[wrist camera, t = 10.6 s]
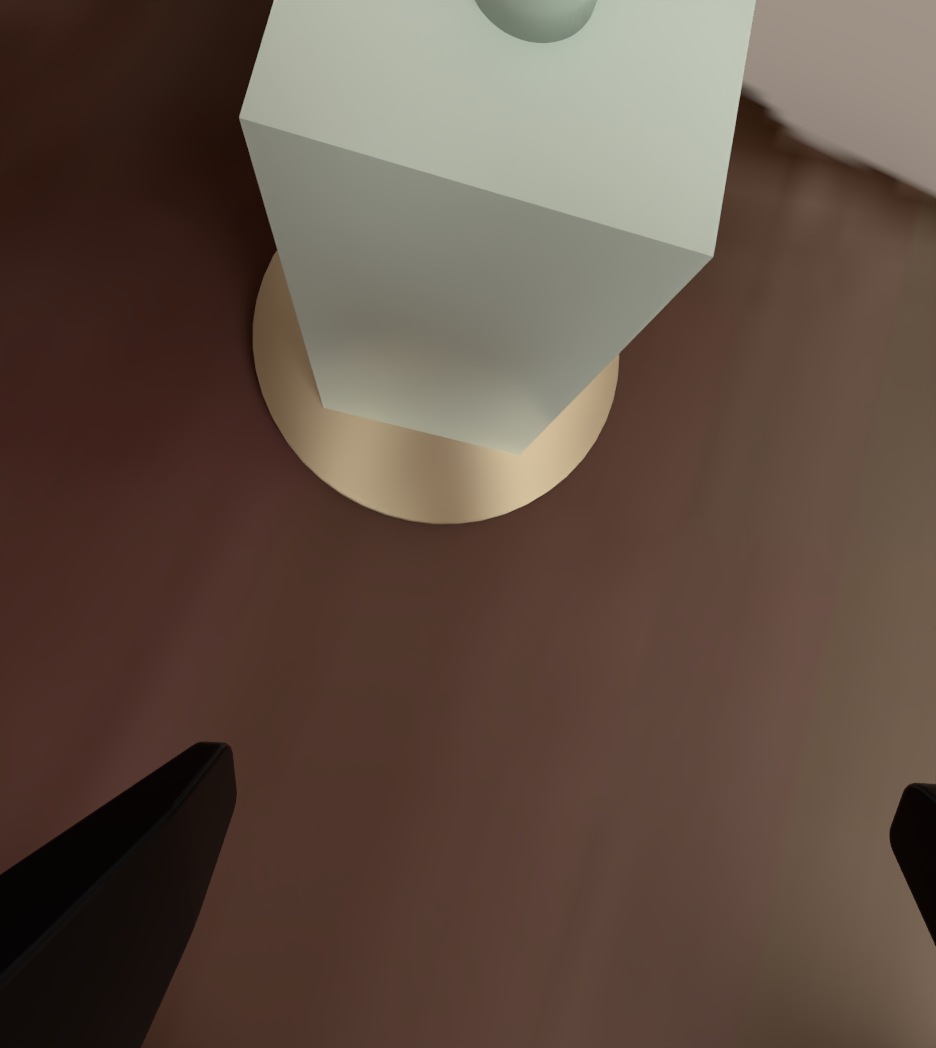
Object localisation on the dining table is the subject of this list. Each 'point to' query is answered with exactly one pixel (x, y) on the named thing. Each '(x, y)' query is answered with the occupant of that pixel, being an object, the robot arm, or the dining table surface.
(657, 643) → the dining table surface
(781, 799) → the dining table surface
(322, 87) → the cover
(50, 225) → the dining table surface
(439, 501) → the cork mat
